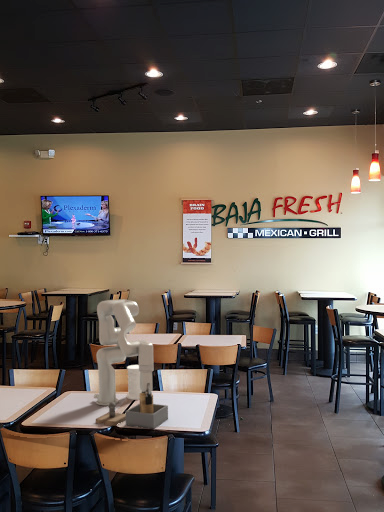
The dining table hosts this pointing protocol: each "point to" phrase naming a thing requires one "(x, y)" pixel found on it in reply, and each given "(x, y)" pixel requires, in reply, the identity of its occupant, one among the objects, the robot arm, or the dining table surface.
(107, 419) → the stud block
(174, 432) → the dining table surface
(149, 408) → the oak strut
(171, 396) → the dining table surface
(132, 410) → the charcoal bin
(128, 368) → the decorative container
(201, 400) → the dining table surface
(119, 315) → the robot arm
